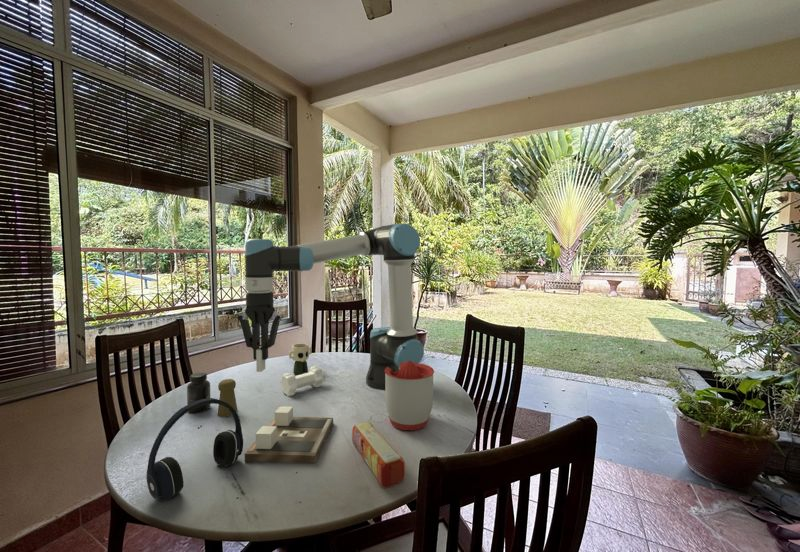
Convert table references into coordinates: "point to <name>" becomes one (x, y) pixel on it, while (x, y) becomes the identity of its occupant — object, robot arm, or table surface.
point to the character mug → (300, 357)
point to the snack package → (378, 454)
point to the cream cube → (266, 437)
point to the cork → (227, 397)
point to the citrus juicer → (409, 395)
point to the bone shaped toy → (301, 380)
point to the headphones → (167, 471)
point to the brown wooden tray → (294, 441)
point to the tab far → (283, 416)
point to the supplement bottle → (198, 391)
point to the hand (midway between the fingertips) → (261, 370)
